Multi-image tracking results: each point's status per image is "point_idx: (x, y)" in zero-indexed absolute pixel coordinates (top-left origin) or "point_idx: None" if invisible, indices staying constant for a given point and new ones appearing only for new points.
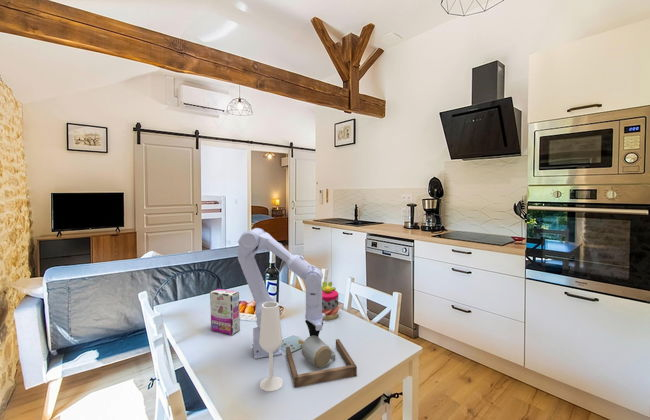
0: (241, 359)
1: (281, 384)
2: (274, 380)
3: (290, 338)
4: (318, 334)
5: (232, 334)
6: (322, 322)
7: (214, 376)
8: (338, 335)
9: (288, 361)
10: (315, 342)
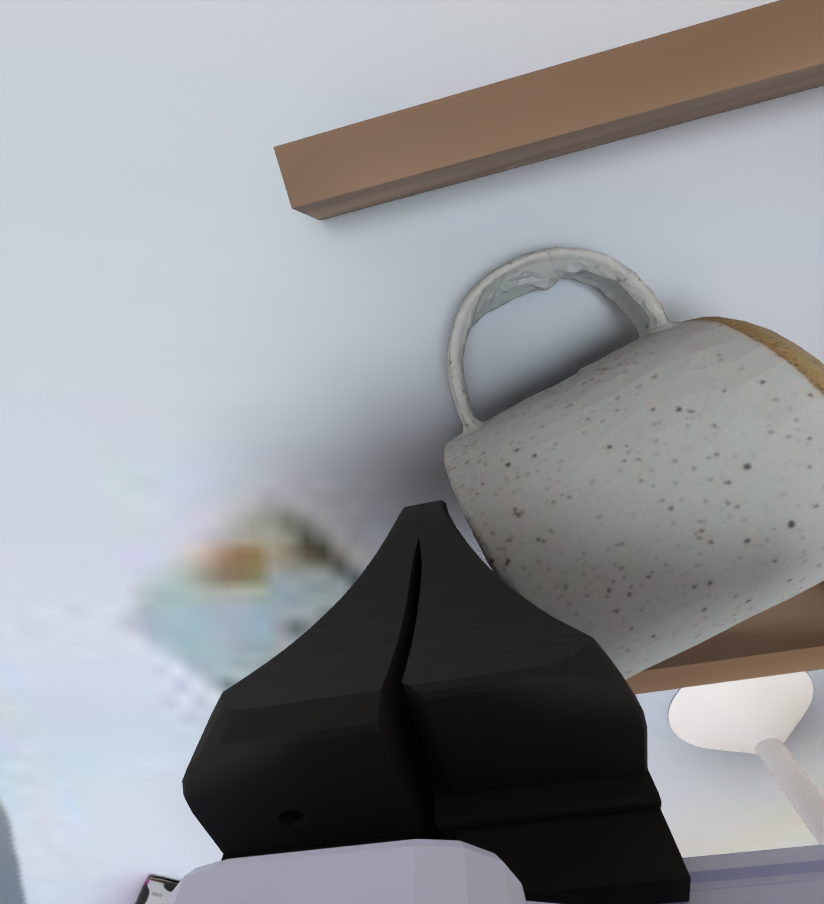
0: None
1: None
2: (784, 721)
3: (191, 639)
4: (472, 549)
5: None
6: (497, 686)
7: None
8: (5, 144)
9: None
10: (738, 602)
